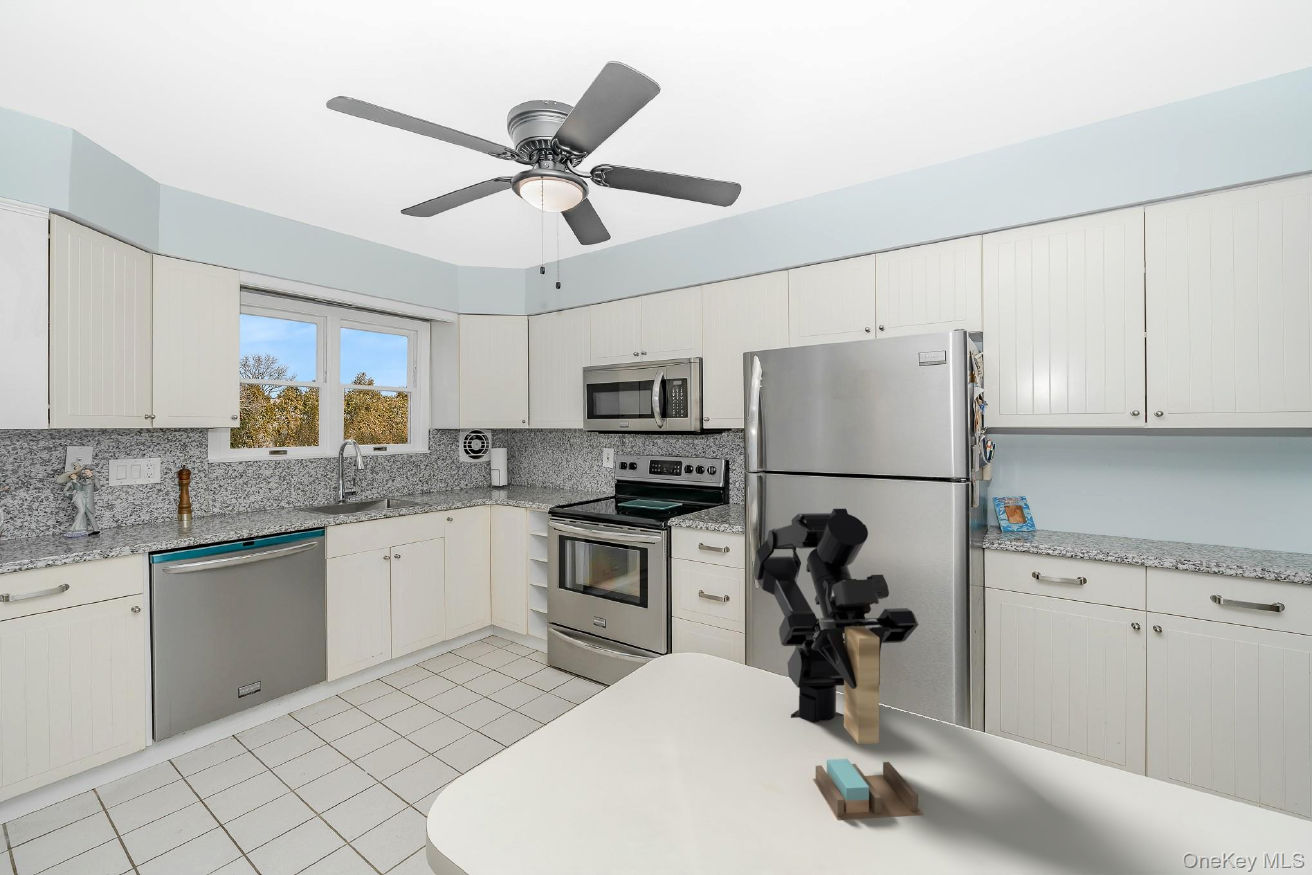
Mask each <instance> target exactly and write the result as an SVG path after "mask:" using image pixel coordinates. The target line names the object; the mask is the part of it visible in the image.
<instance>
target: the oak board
mask: <svg viewBox="0 0 1312 875" xmlns="http://www.w3.org/2000/svg"><path fill="white" fill-rule="evenodd" d="M844 647H845V649H846V652H847V655H848V658H849V661H850V663H851V666H852V669H853V672H854V675H855V680H856V684H857V687H856V688H855V689H852V688H851V687H850V686H849V685H848V683H847V682H846V681H845V680H844V685H843V715H844V716H843V727H844V729H846V731H847V732H848V733H849V735H850V736H851V737H852V739H854V741H855V742H856V743H857V744H858V745H864V744H865V745H867V744H879V742H880V740H879V738H880V736H879V733H880V731H879V729H880V728H879V727H880V726H879V725H880V724H879V723H880V718H879V717H880V715H879V714H880V685H879V637H878V636H877V635H875V634H874V633H872V632H871V631H870V630H868V629H867V628H866V627H864V626H851V627H845V633H844Z"/></svg>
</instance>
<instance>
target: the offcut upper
mask: <svg viewBox="0 0 1312 875" xmlns="http://www.w3.org/2000/svg"><path fill="white" fill-rule="evenodd" d="M852 764H853V763H851V761H850V760H849V758H835V759H826V773H827V772H828V774H829V775H830V777H831V778H832V780H833V781H834V783H835V784H836V786H837V788H838V789H839V791H840V792H841V794H842V795H843V797H844V798H845V800H846V801H853V800H869V786H868V785H867V784H866V782H865V781H864V780H863V779H862V777H861V776H860V775H859V773H858V772H857V771H856V769H855V768H854V767H853V765H852Z"/></svg>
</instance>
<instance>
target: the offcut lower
mask: <svg viewBox="0 0 1312 875" xmlns="http://www.w3.org/2000/svg"><path fill="white" fill-rule="evenodd" d="M826 773H827V774H828V772H827V771H826ZM828 776H829V777H830V775H829V774H828ZM830 779H831V780H832V778H831V777H830ZM832 782H833V784H834V785H835V787H836V788H837V786H836V784H835V783H834V781H833V780H832ZM837 790H838V791H839V789H838V788H837ZM839 793H840V794H841V792H840V791H839ZM841 796H842V797H843V795H842V794H841ZM843 799H844V811H845V812H846V813H860V812H869V800H853V801H846V800H845V798H844V797H843Z"/></svg>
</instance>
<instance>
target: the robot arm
mask: <svg viewBox="0 0 1312 875" xmlns="http://www.w3.org/2000/svg"><path fill="white" fill-rule="evenodd" d="M790 521H791V522H790V523H791V524H789V525H785V526H782V527H778V528H772V529H769V530H768V532H767V538H766V540H765V541H764V543H763V544H761V545H760V547H759V548H757V550H756V552H755V557H754V563H753V576H754V580H756V581H757V583H758V585H759V587H760V588H761V589H762V590H763V591H764V592H766V593H769V594H770V595H773V596H774V598H775V600H776V601H777V604H778V605H779V608H780V610H781V612H782V614H783V615H784V617H783V620H782V622H781V624H780V626H779V628H778V630H779V632H778V635H779V639H780V643H781V646H783V647H794V651H793V652H792V654H791V656H790V658H789V659H788V661H787V670H788V672H787V674H788V678H790V680H791V681H792V682H793V684H794V685H795V686H796V687H797V688H798V689H799V690H798V692H799V693H798V709H797V710H796V711H794V712H793V713H791V714H790V718H791V719H798V718H800V719H802V720H805V721H807V722H809V723H812V724H815V723H820V722H825V721H826V722H827V721H831V720H833V719H835V718H836V717H841V716H843V717H844V713H840V712H838V711H837V687H838V686H842V687H844V680H845V681H846V682H847V683H848V685H849V686H850V687H851V688H852V689H855V688H856V687H857V684H856V680H855V675H854V672H853V669H852V666H851V663H850V661H849V658H848V655H847V652H846V649H845V647H844V642H845V637H844V634H845V627H851V626H864V627H866V628H867V629H868V630H870V631H871V632H872V633H874V634H875V635H877V636H878V637H879V686H880V683H881V682H880V681H881V675H880V674H881V649H882V645H883V644H891V643H892V644H895V643H896V644H897V643H898V644H901V643H903V642H905V641H907V639H908V638H909V637H910V636H911V634H912V633H913V632H914V631H915V630H916V629H917V627H918V626H919V625H920V624H919V622H918V619H917V617H916V615H915V612H913V611H912V610H911V609H909V608H905V607H904V608H903V607H900V608H897V607H895V608H884V609H883V611H882V612H881V613H880V615H879V616H878V617H875V618H874V617H868V618H867V617H866V616H865V615H866V614H869V613H870V612H871V611H872V607H871V605H873V604H874V605H878V604H880V600H883V599H886V598H888V597H889V595H890V591H889V586H888V583H887V581H886V578H885V576H884V574H870V576H867V577H866V579H857V578H852V575H851V572H850V569H849V566H850V565H851V564H853V563H854V562H855V560H856V558H857V557H858V555H859V553H860V551H861V550H862V549H863V548H862V547H863V546H864V545H865V543H866V541H867V539H868V535H869V531H868V528H867V527H868V526H867V525H866V524H864V523H863V521H861V520H860V519H859V518H857V517H856V516H854V515H852V514H849V512H848V510H847V508H832V511H831V512H827V513H826V512H821V513H820V512H818V513H817V512H814V513H813V512H812V513H804V512H803V513H797V514H796V515H795V516H794V517H792V518H791V520H790ZM797 548H798V549H801V550H803V549H804V550H805V549H812V550H811V551H810V552H809V554H808V556H807V558H806V562H807V564H806V568H805V569H806V573H810V576H811V580H812V583H813V586H814V590H815V594H816V595H815V597H814V602H815V604H816V606H818V605H819V607H820V611H821V614H822V617H818V618H817V616H816V613H815V612H814V611H813V609H812V608H811V606H810V604H809V602H808V600H807V598H806V597H805V595H804V594H803V592H802V590H801V588H800V586H799V585H798V577H799V574H800V570H801V565H802V561H801V559H800V556H799V554H798V551H797ZM775 550H792V556H790V555H787V556H786V555H783V556H782V555H781V556H779V555H778V556H772V555H773V554H774V551H775Z"/></svg>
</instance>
